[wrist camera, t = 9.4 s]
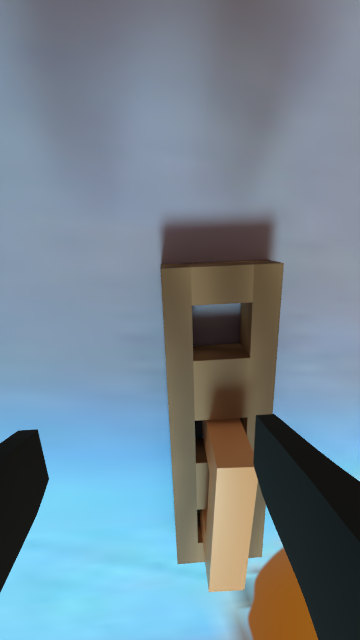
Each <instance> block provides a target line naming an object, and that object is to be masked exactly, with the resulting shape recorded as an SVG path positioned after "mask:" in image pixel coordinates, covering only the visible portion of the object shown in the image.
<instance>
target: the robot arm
mask: <svg viewBox="0 0 360 640" xmlns="http://www.w3.org/2000/svg"><path fill="white" fill-rule="evenodd" d="M253 465H254V469H255V472H256V476H257V479H258V482H259V486H260V489H261V492H262V496H263V498H264V501H265V503H266V506H267V508H268V511H269V513H270V515H271V518H272V520H273V523H274V525H275V527H276V530H277V532H278V535H279V537H280V539H281V542H282V544H283V547H284V549H285V551H286V554H287V556H288V559H289V561H290V563H291V566H292V568H293V571H294V573H295V575H296V578H297V580H298V583H299V585H300V588H301V591H302V593H303V596H304V598H305V601H306V604H307V607H308V610H309V613H310V616H311V619H312V622H313V625H314V628H315V631H316V634H317V637H318V640H360V481H358V480H357V479H355V478H354V477H353V476H351V475H350V474H349V473H347V472H346V471H344V470H343V469H342V468H340V467H339V466H338V465H336V464H335V463H334V462H332V461H331V460H330V459H329V458H327V457H326V456H325V455H323V454H322V453H321V452H320V451H318V450H317V449H316V448H315V447H313V446H312V445H311V444H310V443H308V442H307V441H306V440H305V439H304V438H302V437H301V436H300V435H299V434H298V433H296V432H295V431H294V430H293V429H292V428H290V427H289V426H288V425H287V424H286V423H284V422H283V421H282V420H281V419H279V418H278V417H277V416H276V415H274V414H265V415H256V421H255V440H254V458H253ZM48 480H49V477H48V473H47V468H46V464H45V460H44V455H43V451H42V447H41V442H40V438H39V434H38V429H37V430H22V431H17V432H16V433H14V434H13V435H11V436H10V437H9V438H7V439H6V440H4V441H3V442H2V443H0V592H1V590H2V588H3V586H4V584H5V581H6V579H7V577H8V575H9V573H10V571H11V569H12V567H13V564H14V562H15V560H16V558H17V556H18V554H19V552H20V550H21V548H22V545H23V543H24V541H25V539H26V537H27V535H28V533H29V530H30V528H31V526H32V524H33V522H34V519H35V517H36V515H37V513H38V510H39V507H40V504H41V501H42V499H43V496H44V492H45V489H46V486H47V483H48Z"/></svg>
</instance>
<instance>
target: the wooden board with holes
mask: <svg viewBox="0 0 360 640" xmlns="http://www.w3.org/2000/svg"><path fill="white" fill-rule="evenodd" d="M283 265H284V263H280V262H275V261H271V260H252V261H229V262H205V263H182V264H161V283H162V301H163V318H164V335H165V353H166V370H167V387H168V405H169V422H170V439H171V457H172V474H173V491H174V509H175V526H176V543H177V561H178V564H185V563H196V562H205V557H204V548H203V540H202V532H201V524H200V516H199V513H197V510H199V509H208V492H209V474H210V472H209V467H208V461H207V456H206V451H205V446H204V440H203V438H195V421H199V420H214V419H229V418H240V421H241V423H242V425H243V428H244V430H245V433H246V435H247V438H248V440H249V442H250V445H251V447H252V450H253V452H254V440H255V421H256V415H265V414H272V413H273V399H274V386H275V373H276V359H277V346H278V332H279V319H280V306H281V292H282V279H283ZM229 303H241V316H240V343H234V344H215V345H197V346H193V330H192V305H209V304H229ZM265 507H266V503H265V501H264V498H263V496H262V492H261V489H260V486H259V482H258V484H257V492H256V500H255V508H254V516H253V524H252V532H251V540H250V548H249V556H248V558H254V557H262V547H263V533H264V520H265Z"/></svg>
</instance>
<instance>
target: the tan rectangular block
mask: <svg viewBox="0 0 360 640" xmlns="http://www.w3.org/2000/svg"><path fill="white" fill-rule="evenodd" d="M202 435H203V440H204V446H205V451H206V456H207V461H208V467H209V472H210V474H209V492H208V509H199V516H200V524H201V532H202V540H203V548H204V557H205V565H206V573H207V581H208V589H209V592H217V591H234V590H244V588H245V580H246V572H247V564H248V556H249V548H250V540H251V532H252V524H253V516H254V508H255V500H256V492H257V484H258V479H257V476H256V472H255V469H254V465H253V458H254V452H253V450H252V447H251V445H250V442H249V440H248V438H247V435H246V433H245V430H244V428H243V425H242V423H241V421H240V418H229V419H214V420H202Z"/></svg>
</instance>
